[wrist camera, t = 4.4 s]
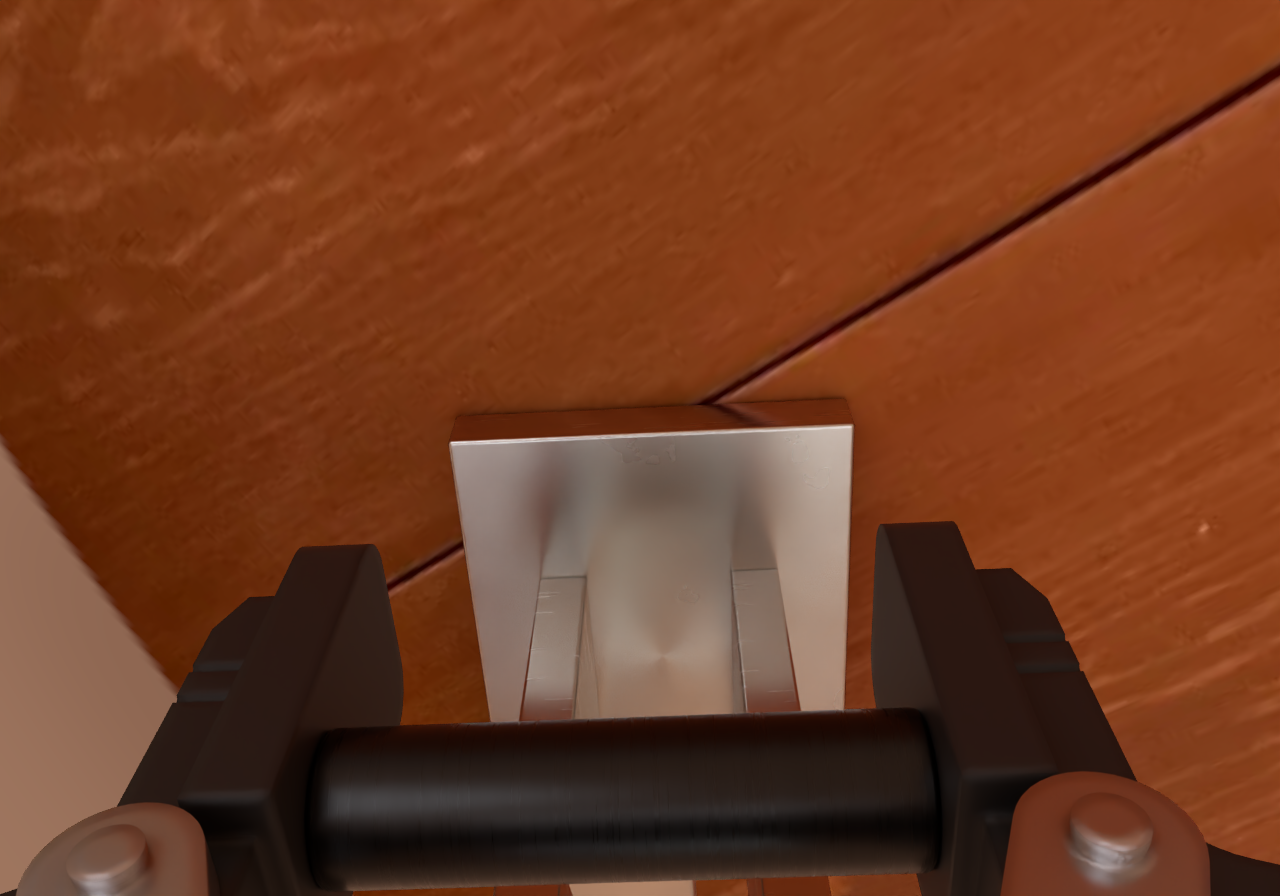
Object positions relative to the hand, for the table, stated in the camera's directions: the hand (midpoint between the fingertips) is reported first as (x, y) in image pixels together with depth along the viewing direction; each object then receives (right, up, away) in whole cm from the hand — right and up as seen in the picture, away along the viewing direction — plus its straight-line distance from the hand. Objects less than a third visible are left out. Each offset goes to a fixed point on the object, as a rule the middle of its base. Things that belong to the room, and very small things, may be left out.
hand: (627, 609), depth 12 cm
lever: (0, -3, +3) cm, 4 cm away
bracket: (+1, -2, +15) cm, 15 cm away
